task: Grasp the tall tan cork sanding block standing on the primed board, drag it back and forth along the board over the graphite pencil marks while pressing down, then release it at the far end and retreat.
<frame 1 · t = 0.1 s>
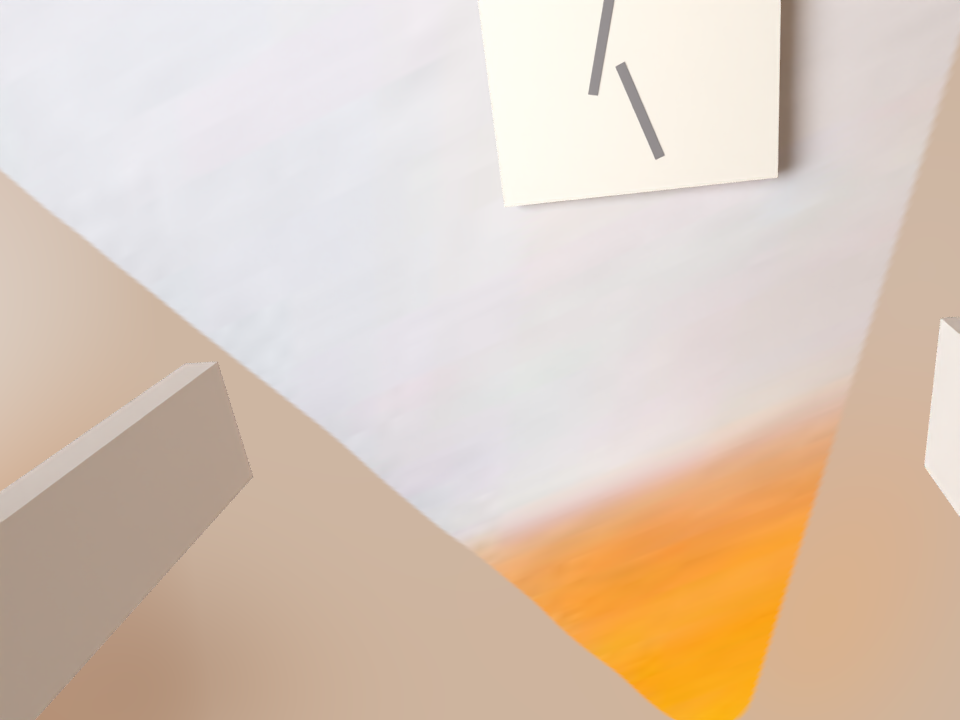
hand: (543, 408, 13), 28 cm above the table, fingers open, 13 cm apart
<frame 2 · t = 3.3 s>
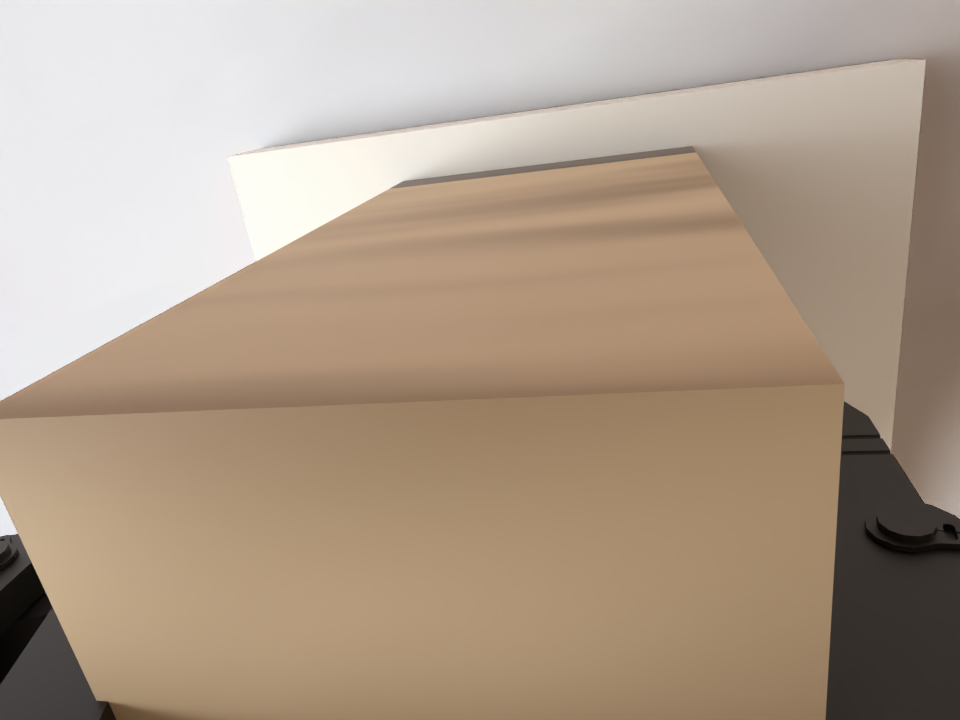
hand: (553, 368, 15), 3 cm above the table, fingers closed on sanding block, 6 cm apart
board: (589, 552, 20), on the table
sanding block: (559, 344, 16), point 2 cm above the table, touching board, gripper
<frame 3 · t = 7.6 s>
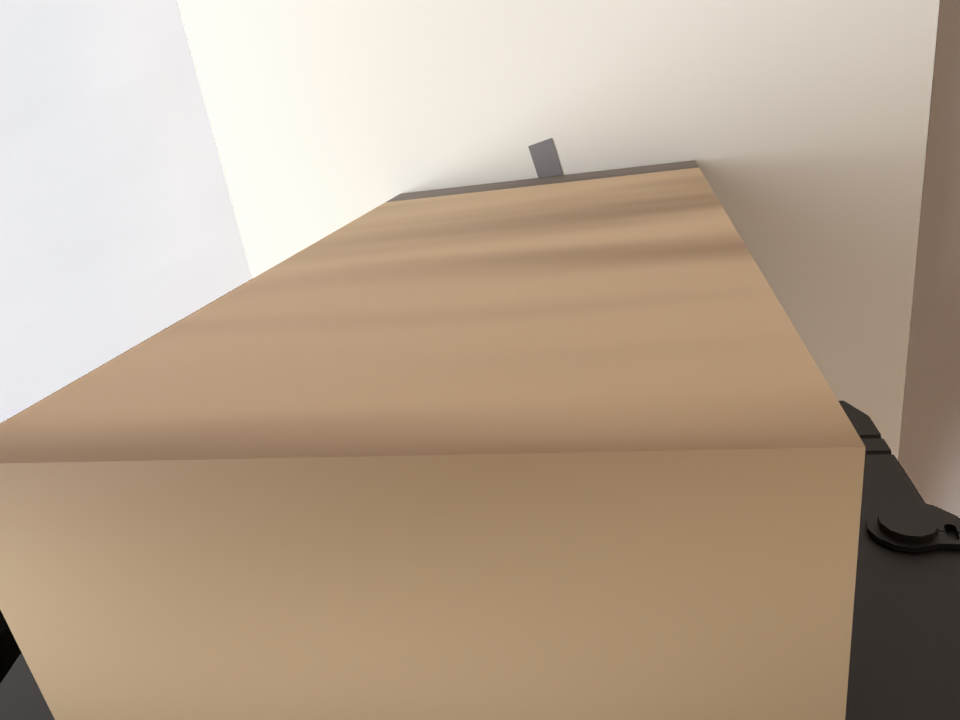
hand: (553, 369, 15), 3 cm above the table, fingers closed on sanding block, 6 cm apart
board: (564, 324, 17), on the table
sanding block: (559, 359, 16), point 2 cm above the table, touching gripper
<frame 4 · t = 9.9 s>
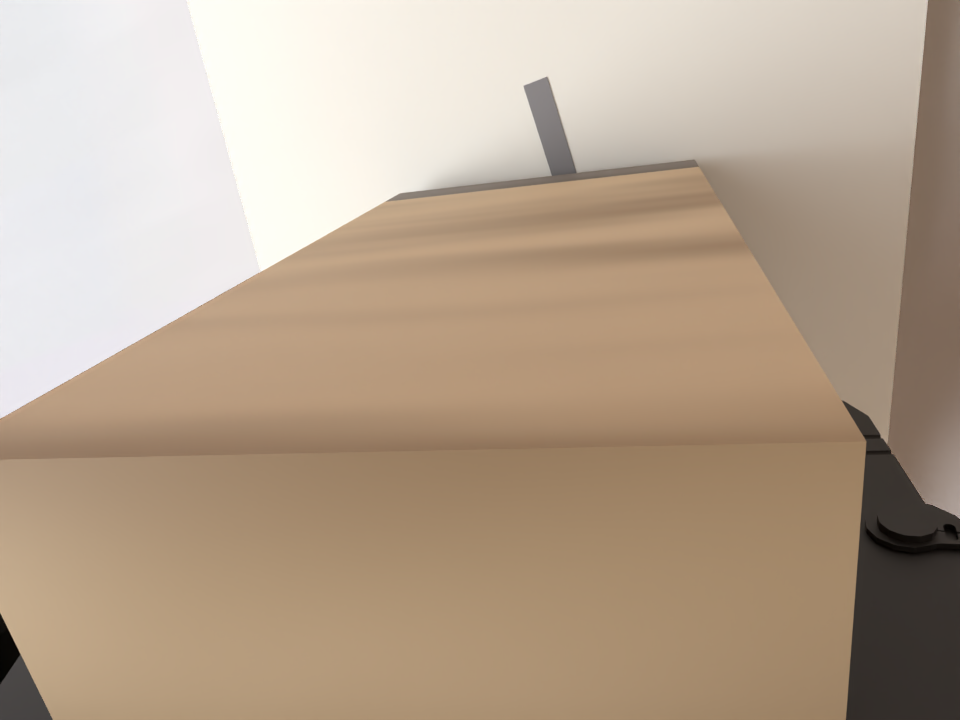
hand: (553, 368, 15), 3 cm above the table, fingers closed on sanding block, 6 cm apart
board: (560, 273, 17), on the table
sanding block: (559, 359, 16), point 2 cm above the table, touching gripper
when the fingers open (3 cm above the table, at t = 12.0 s): sanding block stays where it is, resting on board.
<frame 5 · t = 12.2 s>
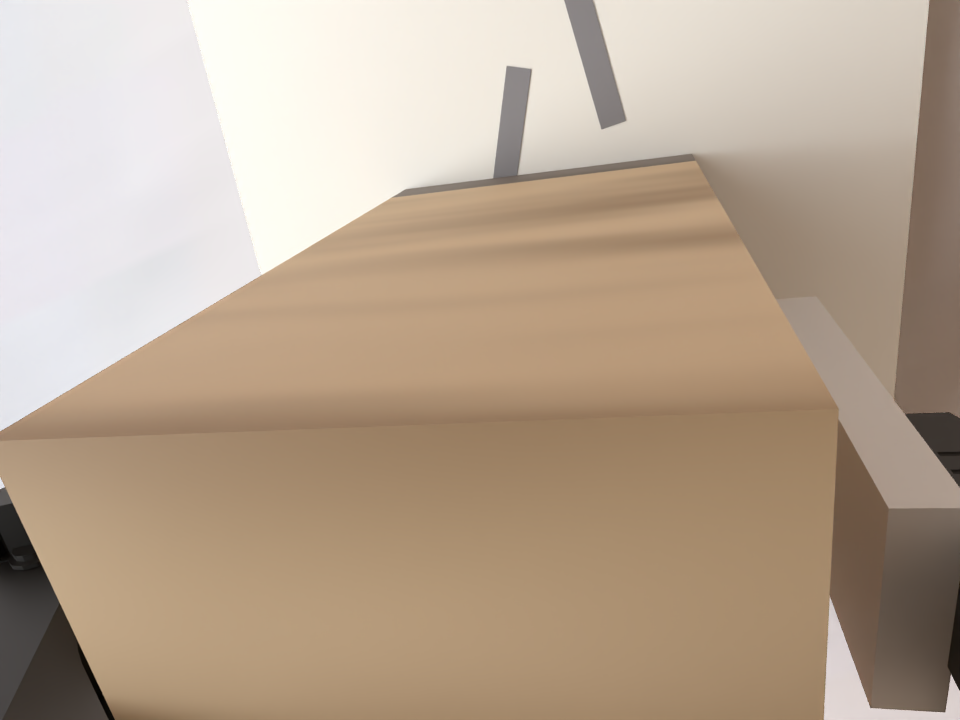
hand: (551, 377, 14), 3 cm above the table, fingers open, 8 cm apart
board: (533, 8, 15), on the table
sanding block: (561, 349, 16), point 2 cm above the table, touching board
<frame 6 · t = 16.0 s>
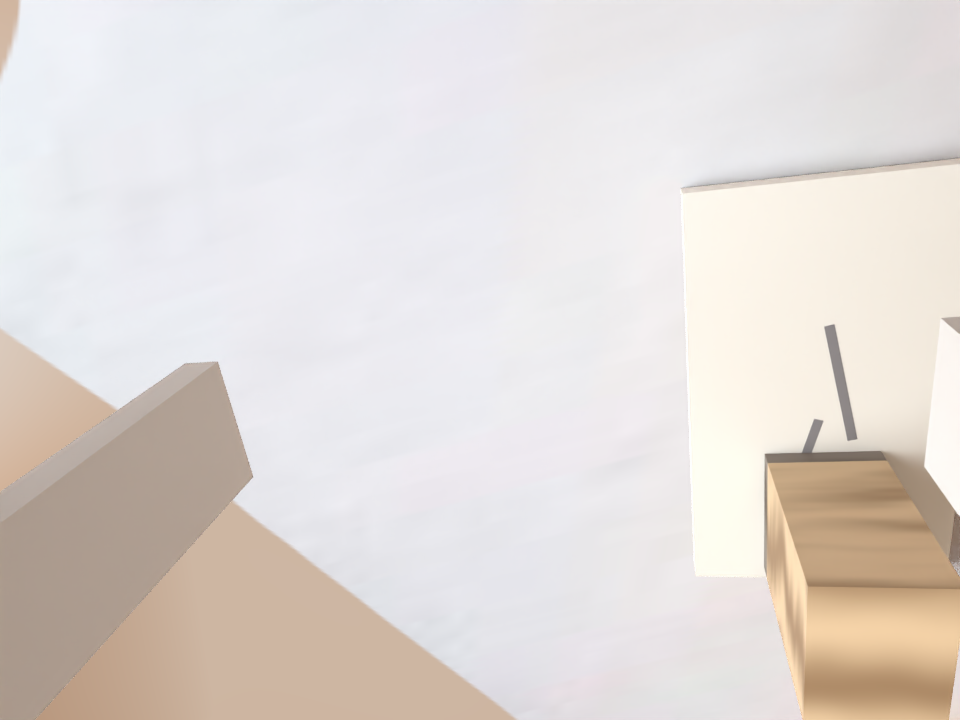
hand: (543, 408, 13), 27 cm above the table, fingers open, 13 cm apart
board: (817, 389, 39), on the table
sanding block: (819, 512, 40), point 2 cm above the table, touching board
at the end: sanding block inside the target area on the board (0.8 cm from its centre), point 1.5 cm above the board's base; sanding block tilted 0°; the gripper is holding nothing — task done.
